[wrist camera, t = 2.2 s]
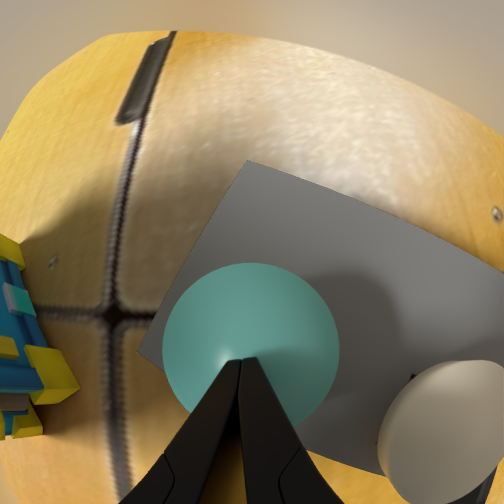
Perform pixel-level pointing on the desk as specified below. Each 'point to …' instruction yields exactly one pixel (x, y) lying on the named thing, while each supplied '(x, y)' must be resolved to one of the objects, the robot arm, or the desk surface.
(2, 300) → the decorative book
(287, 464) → the robot arm
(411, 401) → the cream button
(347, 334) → the button box
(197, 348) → the teal button
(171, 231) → the desk surface
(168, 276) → the desk surface
